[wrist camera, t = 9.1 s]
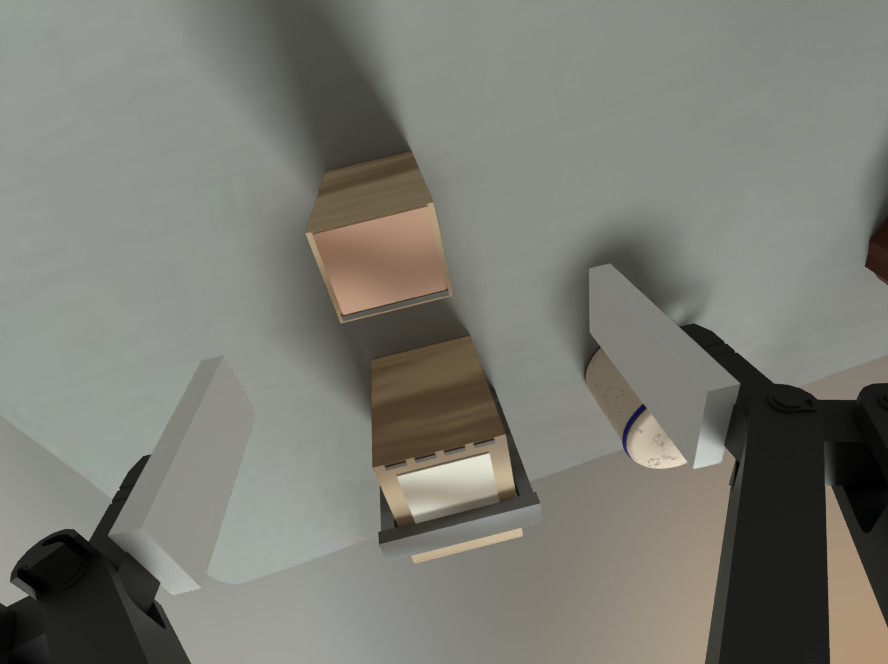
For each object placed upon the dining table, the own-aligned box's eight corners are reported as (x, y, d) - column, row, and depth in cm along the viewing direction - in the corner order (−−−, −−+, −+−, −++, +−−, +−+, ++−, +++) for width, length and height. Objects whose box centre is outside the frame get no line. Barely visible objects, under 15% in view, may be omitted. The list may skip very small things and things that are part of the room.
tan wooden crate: (354, 364, 39) (349, 486, 28) (486, 331, 39) (532, 439, 28) (389, 454, 46) (397, 580, 35) (502, 425, 46) (545, 542, 35)
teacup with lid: (581, 409, 46) (638, 505, 37) (581, 338, 41) (648, 428, 32) (692, 383, 47) (777, 472, 37) (705, 310, 42) (808, 390, 32)
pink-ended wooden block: (325, 171, 30) (305, 234, 20) (411, 150, 30) (433, 202, 20) (348, 239, 33) (340, 324, 23) (427, 220, 33) (453, 296, 23)
